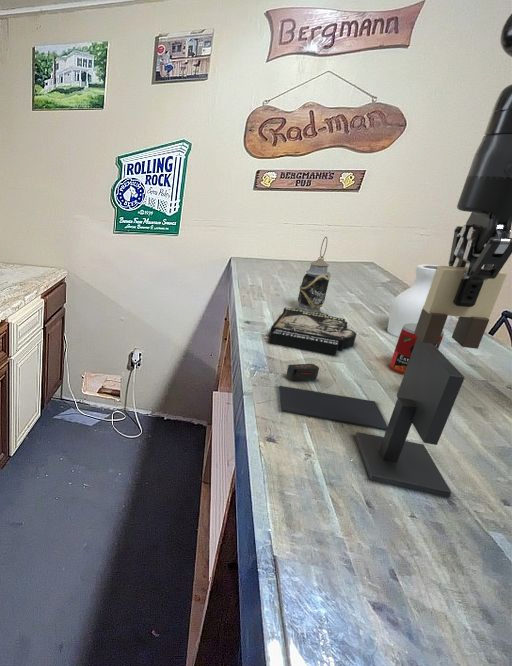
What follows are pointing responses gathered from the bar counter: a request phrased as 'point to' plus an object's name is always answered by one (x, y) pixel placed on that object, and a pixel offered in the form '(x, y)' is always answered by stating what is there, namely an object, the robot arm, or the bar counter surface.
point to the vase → (411, 301)
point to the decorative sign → (311, 332)
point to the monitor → (415, 424)
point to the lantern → (314, 285)
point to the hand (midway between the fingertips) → (458, 302)
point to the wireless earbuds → (302, 372)
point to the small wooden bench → (456, 308)
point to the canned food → (406, 348)
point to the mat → (331, 407)
